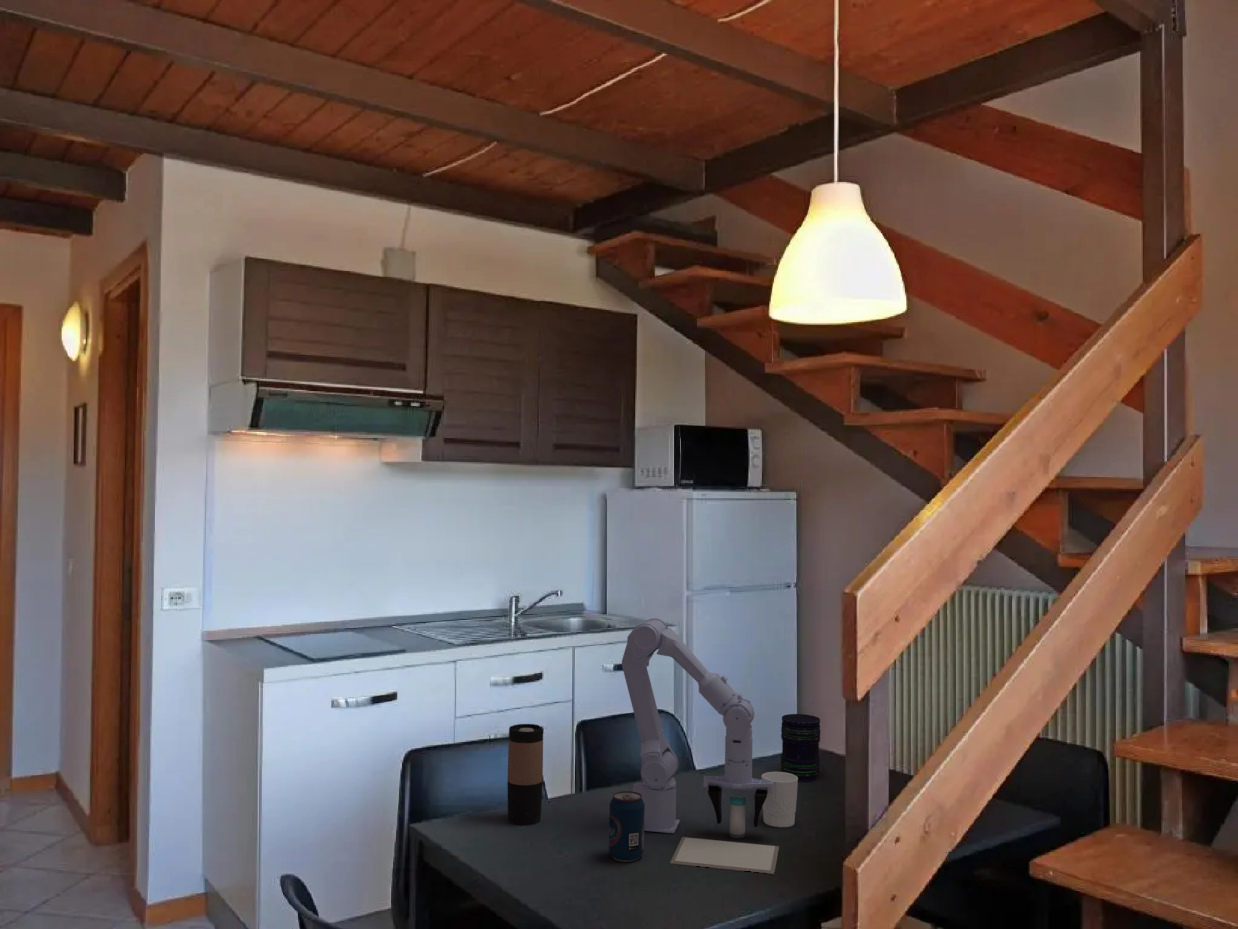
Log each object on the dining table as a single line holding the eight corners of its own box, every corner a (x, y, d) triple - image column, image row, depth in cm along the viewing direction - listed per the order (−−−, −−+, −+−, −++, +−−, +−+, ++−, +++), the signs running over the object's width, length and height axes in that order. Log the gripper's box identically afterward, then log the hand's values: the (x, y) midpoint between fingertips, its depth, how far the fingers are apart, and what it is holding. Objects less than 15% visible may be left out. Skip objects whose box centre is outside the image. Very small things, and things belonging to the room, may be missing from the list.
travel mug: (500, 823, 215) (502, 729, 215) (516, 812, 222) (518, 722, 222) (531, 828, 212) (533, 733, 212) (547, 817, 219) (549, 726, 220)
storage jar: (780, 781, 250) (781, 721, 250) (780, 770, 260) (781, 713, 260) (820, 784, 248) (821, 723, 249) (819, 773, 258) (820, 715, 258)
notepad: (669, 864, 193) (669, 861, 193) (682, 838, 208) (682, 836, 208) (774, 874, 189) (774, 872, 189) (779, 847, 203) (779, 845, 203)
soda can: (603, 852, 198) (604, 792, 199) (635, 848, 201) (636, 788, 201) (616, 865, 192) (618, 802, 192) (649, 860, 195) (650, 798, 195)
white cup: (796, 830, 214) (797, 783, 214) (759, 827, 216) (760, 780, 216) (797, 818, 222) (798, 773, 222) (761, 815, 223) (762, 770, 224)
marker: (728, 837, 208) (729, 799, 209) (730, 832, 212) (730, 794, 212) (744, 839, 208) (744, 800, 208) (745, 834, 211) (746, 796, 211)
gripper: (701, 761, 208) (700, 826, 207) (771, 766, 205) (770, 833, 204) (706, 752, 215) (705, 816, 214) (774, 757, 211) (773, 822, 211)
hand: (737, 824), depth 210 cm, fingers open, 7 cm apart
